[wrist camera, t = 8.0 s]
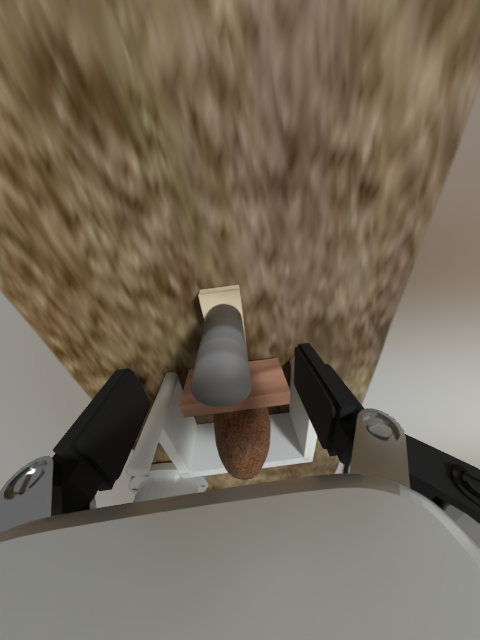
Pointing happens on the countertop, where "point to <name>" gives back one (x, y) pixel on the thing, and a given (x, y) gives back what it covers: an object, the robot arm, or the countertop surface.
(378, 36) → the countertop surface
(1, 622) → the robot arm
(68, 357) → the countertop surface
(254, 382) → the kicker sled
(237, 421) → the coconut
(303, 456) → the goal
